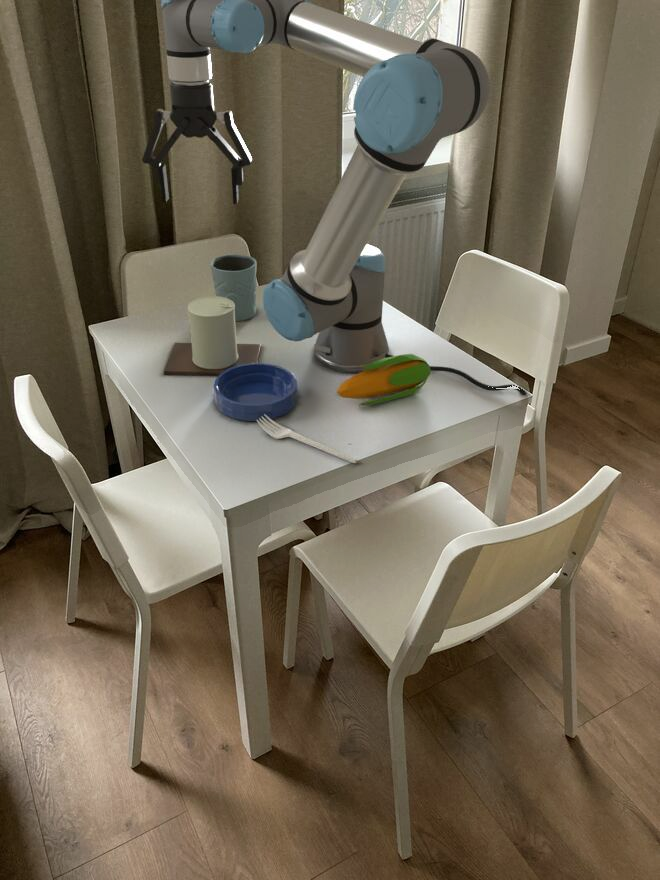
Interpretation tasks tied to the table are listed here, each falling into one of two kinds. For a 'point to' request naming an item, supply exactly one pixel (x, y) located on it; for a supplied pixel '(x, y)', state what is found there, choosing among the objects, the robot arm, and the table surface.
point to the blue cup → (236, 282)
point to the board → (184, 365)
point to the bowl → (255, 391)
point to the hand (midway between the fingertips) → (201, 201)
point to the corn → (387, 379)
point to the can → (213, 332)
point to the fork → (298, 438)
